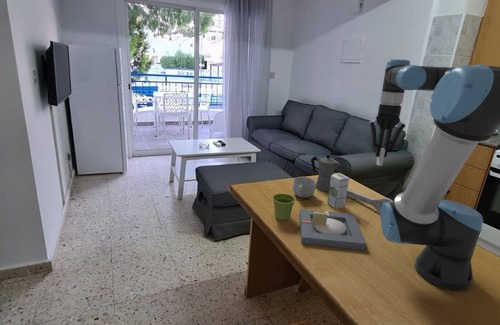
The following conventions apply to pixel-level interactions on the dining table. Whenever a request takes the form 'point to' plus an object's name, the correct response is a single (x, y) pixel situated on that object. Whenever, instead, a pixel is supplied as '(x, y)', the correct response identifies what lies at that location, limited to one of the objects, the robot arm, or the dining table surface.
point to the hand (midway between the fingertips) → (379, 164)
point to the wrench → (369, 200)
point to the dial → (327, 224)
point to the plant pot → (283, 205)
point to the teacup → (304, 187)
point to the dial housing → (347, 240)
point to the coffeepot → (324, 171)
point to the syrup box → (338, 191)
